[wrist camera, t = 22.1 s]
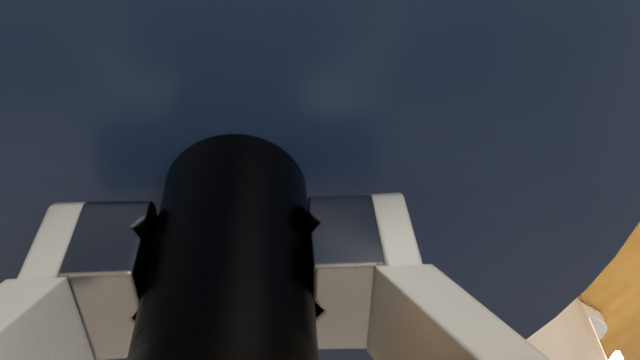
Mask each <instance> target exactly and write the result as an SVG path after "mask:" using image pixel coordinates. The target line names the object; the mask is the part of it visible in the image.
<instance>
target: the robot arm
mask: <svg viewBox="0 0 640 360" xmlns="http://www.w3.org/2000/svg"><path fill="white" fill-rule="evenodd" d="M307 217H308V233H309V243H310V247H311V273H312V285H313V297H314V301H315V313H316V327H317V340H318V349H367V352H368V353H369V354H370V356H371V357H372V358H373V359H374V360H608V359H607V357H606V355H605V352H604V350H603V347H602V345H601V343H600V340H601V339H602V338H603V337H604V335H605V334H606V332H607V329H608V328H607V324H606V322H605V319H604V317H603V315H602V314H601V313H600V312H599V311H597V310H596V309H594V308H592V307H590V306H588V305H586V304H584V303H582V302H581V301H580V300H579V299H578V297H577V298H576V299H575V300H574V301H573V302H572V303H571V304H570V305H569V306H568V307H567V308H565V309H564V310H563V311H562V312H561V313H560V314H559V315H558V316H557V317H556V318H554V319H553V320H552V321H550V322H549V323H548V324H546V325H545V326H544V327H542V328H541V329H540V330H538V331H537V332H536V333H534V334H533V335H532V336H530V337H529V338H528V339H526V340H525V339H524V338H523V337H522V336H521V335H519V334H518V333H517V332H516V331H514V330H513V329H512V328H511V327H509V326H508V325H507V324H506V323H504V322H503V321H502V320H501V319H500V318H498V317H497V316H496V315H495V314H493V313H492V312H491V311H490V310H488V309H487V308H486V307H485V306H484V305H482V304H481V303H480V302H479V301H477V300H476V299H475V298H474V297H472V296H471V295H470V294H469V293H467V292H466V291H465V290H464V289H463V288H461V287H460V286H459V285H458V284H456V283H455V282H454V281H453V280H451V279H450V278H449V277H448V276H446V275H445V274H444V273H443V272H442V271H440V270H439V269H438V268H437V267H435V266H434V265H433V264H423V263H422V259H421V256H420V252H419V249H418V245H417V241H416V238H415V234H414V231H413V227H412V224H411V220H410V216H409V213H408V209H407V206H406V202H405V199H404V196H403V195H402V194H401V193H400V192H396V193H377V194H370V195H346V196H317V197H308V201H307ZM157 219H158V215H157V210H156V206H155V204H154V203H153V202H152V201H91V202H55V203H54V204H52V205H51V206H50V207H49V208H48V209H47V211H46V214H45V216H44V218H43V220H42V223H41V225H40V227H39V229H38V232H37V234H36V236H35V238H34V240H33V243H32V245H31V247H30V249H29V252H28V254H27V256H26V258H25V261H24V263H23V265H22V267H21V270H20V272H19V274H18V276H17V279H6V280H4V281H3V282H2V283H0V360H110V359H124V358H127V356H128V352H129V347H130V343H131V338H132V334H133V329H134V324H135V320H136V315H137V311H138V306H139V301H140V297H141V292H142V288H143V283H144V278H145V274H146V269H147V265H148V260H149V255H150V251H151V246H152V242H153V237H154V232H155V228H156V223H157ZM609 360H624V358H623V356H622V354H621V352H620V351H615V352H614V353H613V355H612V356H611V357H610V359H609Z"/></svg>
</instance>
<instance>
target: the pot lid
mask: <svg viewBox="0 0 640 360" xmlns="http://www.w3.org/2000/svg"><path fill="white" fill-rule="evenodd" d="M396 192H400V193H401V194H402V195H403V196H404V199H405V202H406V206H407V209H408V213H409V216H410V220H411V224H412V227H413V231H414V234H415V238H416V241H417V245H418V249H419V252H420V256H421V259H422V263H423V264H433V265H434V266H435V267H437V268H438V269H439V270H440V271H442V272H443V273H444V274H445V275H446V276H448V277H449V278H450V279H451V280H453V281H454V282H455V283H456V284H458V285H459V286H460V287H461V288H463V289H464V290H465V291H466V292H467V293H469V294H470V295H471V296H472V297H474V298H475V299H476V300H477V301H479V302H480V303H481V304H482V305H484V306H485V307H486V308H487V309H488V310H490V311H491V312H492V313H493V314H495V315H496V316H497V317H498V318H500V319H501V320H502V321H503V322H504V323H506V324H507V325H508V326H509V327H511V328H512V329H513V330H514V331H516V332H517V333H518V334H519V335H521V336H522V337H523V338H524V339H525V340H526V339H528V338H529V337H530V336H532V335H533V334H534V333H536V332H537V331H538V330H540V329H541V328H542V327H544V326H545V325H546V324H548V323H549V322H550V321H552V320H553V319H554V318H556V317H557V316H558V315H559V314H560V313H561V312H562V311H563V310H564V309H565V308H567V307H568V306H569V305H570V304H571V303H572V302H573V301H574V300H575V299H576V298H577V297H578V296H580V295H581V294H582V293H583V292H584V291H585V290H586V289H587V288H588V287H589V286H590V285H591V284H592V282H593V281H594V280H595V279H596V278H597V277H598V276H599V274H600V273H601V272H602V271H603V270H604V269H605V268H606V267H607V265H608V264H609V263H610V262H611V261H612V260H613V259H614V257H615V256H616V255H617V254H618V252H619V251H620V249H621V248H622V246H623V245H624V244H625V242H626V241H627V239H628V238H629V236H630V235H631V234H632V232H633V231H634V229H635V228H636V226H637V225H638V224H639V222H640V0H0V283H2V282H3V281H4V280H6V279H17V276H18V274H19V272H20V270H21V267H22V265H23V263H24V261H25V258H26V256H27V254H28V252H29V249H30V247H31V245H32V243H33V240H34V238H35V236H36V234H37V232H38V229H39V227H40V225H41V223H42V220H43V218H44V216H45V214H46V211H47V209H48V208H49V207H50V206H51V205H52V204H54V203H55V202H91V201H152V202H153V203H154V204H155V206H156V210H157V215H158V219H157V223H156V228H155V232H154V237H153V242H152V246H151V251H150V255H149V260H148V265H147V269H146V274H145V278H144V283H143V288H142V292H141V297H140V301H139V306H138V311H137V315H136V320H135V324H134V329H133V334H132V338H131V343H130V347H129V352H128V356H127V358H124V359H110V360H374V359H373V358H372V357H371V356H370V354H369V353H368V352H367V349H318V340H317V327H316V313H315V301H314V297H313V285H312V273H311V247H310V243H309V233H308V217H307V201H308V197H317V196H346V195H370V194H377V193H396Z"/></svg>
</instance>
